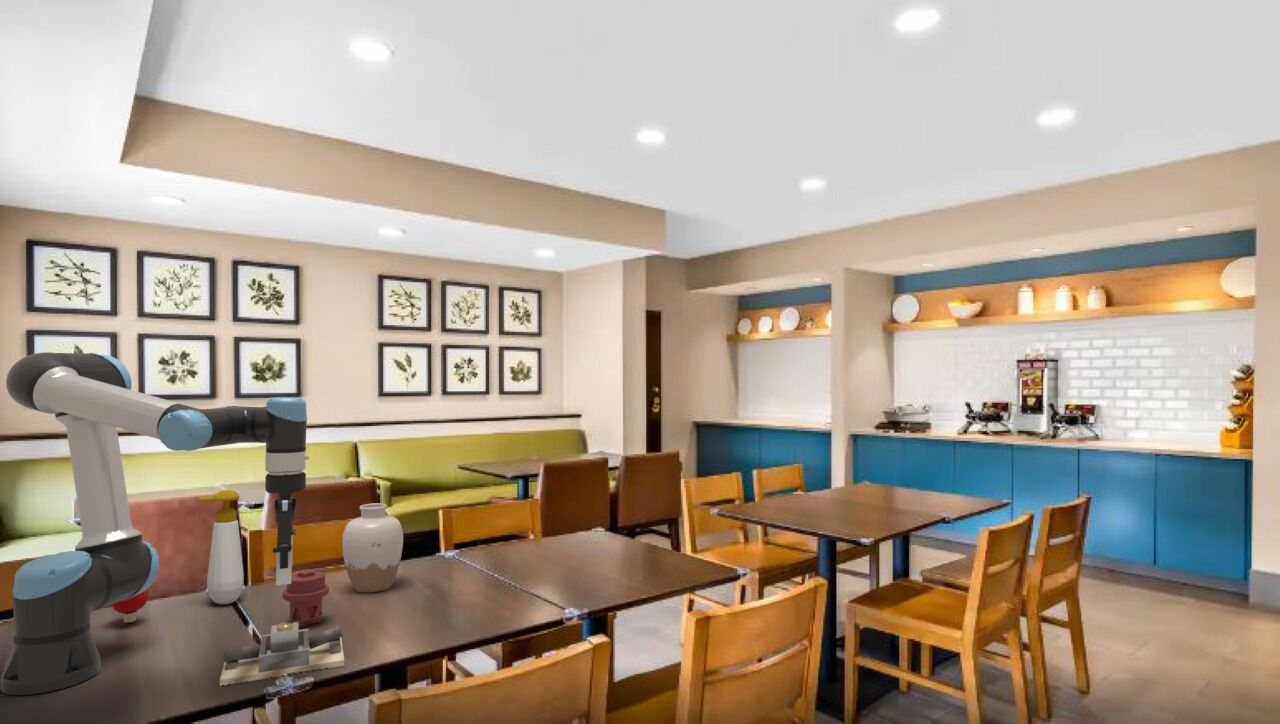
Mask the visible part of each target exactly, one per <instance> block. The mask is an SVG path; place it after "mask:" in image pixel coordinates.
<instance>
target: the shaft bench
mask: <svg viewBox="0 0 1280 724" xmlns="http://www.w3.org/2000/svg"><path fill="white" fill-rule="evenodd" d="M342 637H344V636H343V631H342V629H341V625H338V626H335V627H331V628H329V629H327V630H325V631H321V632H318V633H317V634H314V635H312V636H310V629H309V628H303V629H298V650H291V651H285V652H278V653H272V654H271V633H269V634H262V635H261V640H260V644H254V645H248V646H240V647H234V648H228V649H223V658H222V659H223V666H222V669H221V673H220V676H219V677H220V678H219V687H221V686H222V685H224V686H228V684H230V685H236V684H241V682H242V683H247V681H248V682H253V681H254V682H255V681H258V680H259V681H260V680H266V678H267V679H271V678H270V677H273V678H279V677H283V676H282V675H284V674H287V673H291V672H297V671H307V670H316V669H317V670H316V671H319V670H318V669H322V670H326V669H325V668H328V669H333V668H340V667H344V666H345V655H344V650H343V647H344V646H343V643H342ZM235 683H236V684H235ZM222 687H223V686H222Z"/></svg>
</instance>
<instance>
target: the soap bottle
mask: <svg viewBox="0 0 1280 724" xmlns="http://www.w3.org/2000/svg"><path fill="white" fill-rule="evenodd" d="M240 498H241V497H240V495H239V493H238V492H237V491H235V490H231V489H224V490H220V491H218V492H216V493H213V494H212V495H210V496H203V497H202V496H201V497H198V499H199V501H200V502H202V503H203V502H204V503H205V502H222V508H221V509H217V511H216V512H215V522H213V527H212V535H211V544H210V553H209V561H208V569H207V579H206V585H207V586H206V588H207V592H208V594H209V595H208V596H209V597H210V599H211V600H212V601H213V602H214V603H215V604H217V605H223V606H224V605H229V604H230V605H231V604H233V603H234V602H236V601H237V600H238V599H239V597H240V596H241V594H242V591H243V586H244V578H245V577H244V575H245V574H244V567H243V556H242V546H241V538H240V529H239V521H238V519H237V510H235V508H233V507H232V508H231V507H230V502H231V501H235V500H239V499H240Z"/></svg>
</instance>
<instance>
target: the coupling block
mask: <svg viewBox="0 0 1280 724" xmlns="http://www.w3.org/2000/svg"><path fill="white" fill-rule="evenodd" d="M270 630H271V631H270V634H271V654H272V653H278V652H285V651H291V650H298V630H299V628H298V622H295V621H293V622H292V621H286V622H280V623H278V624H274V625H271V629H270Z"/></svg>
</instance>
